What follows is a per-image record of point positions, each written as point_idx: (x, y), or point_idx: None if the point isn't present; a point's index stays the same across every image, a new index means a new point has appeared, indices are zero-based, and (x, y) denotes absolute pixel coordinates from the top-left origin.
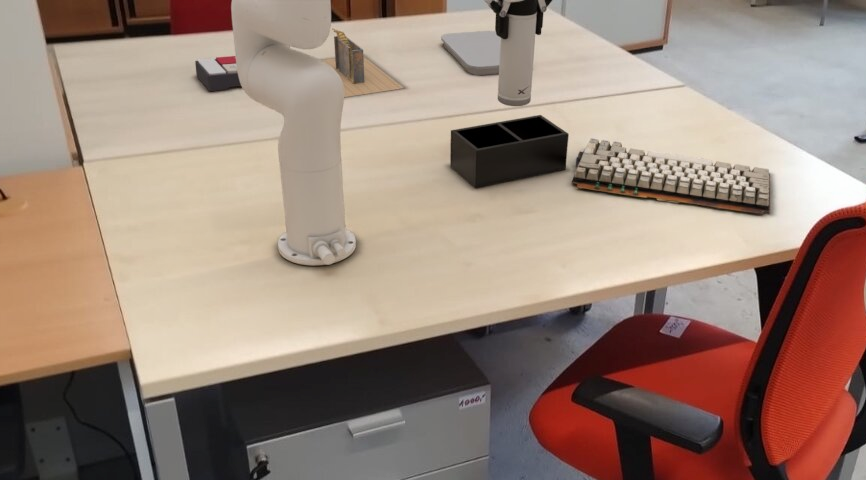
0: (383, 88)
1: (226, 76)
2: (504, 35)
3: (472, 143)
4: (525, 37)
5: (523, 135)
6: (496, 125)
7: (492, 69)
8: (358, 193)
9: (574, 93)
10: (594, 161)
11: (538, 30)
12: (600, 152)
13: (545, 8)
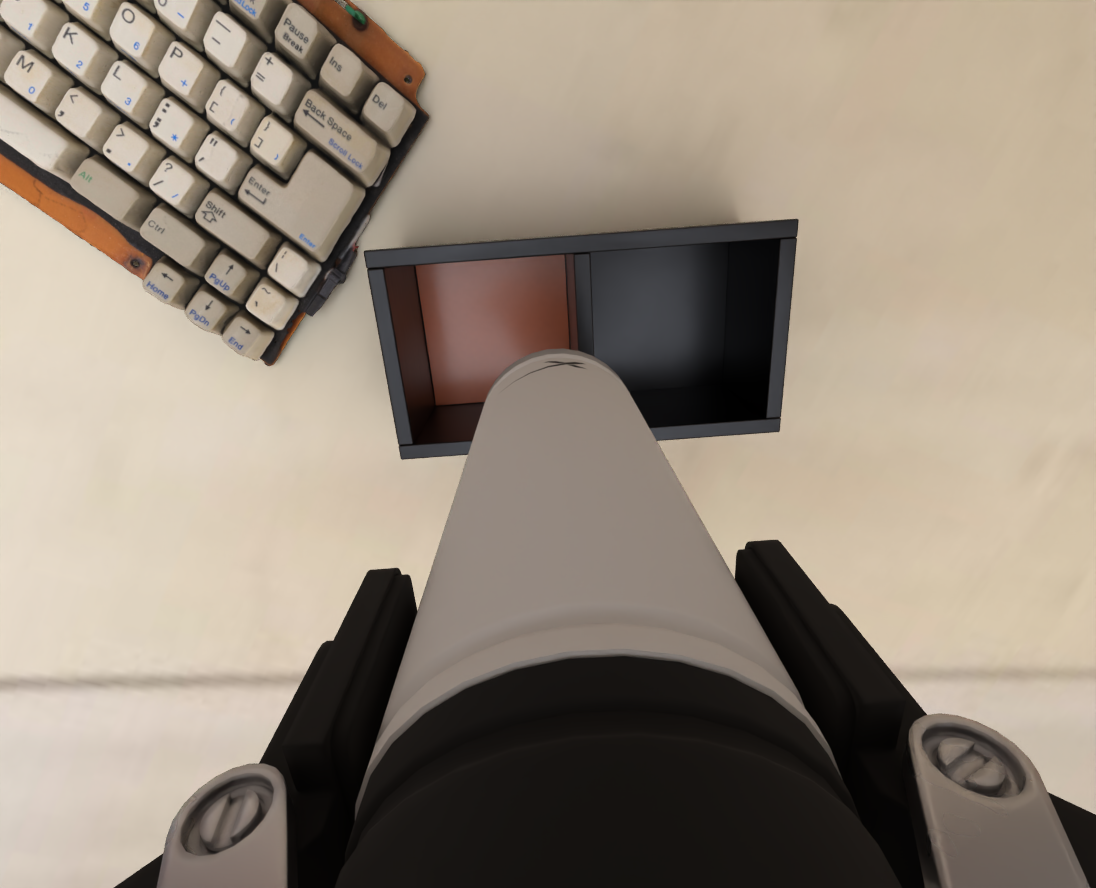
0: None
1: None
2: (790, 560)
3: (682, 406)
4: (588, 490)
5: None
6: None
7: None
8: (1056, 316)
9: (172, 720)
10: (302, 168)
11: (390, 592)
12: (250, 236)
13: (194, 827)
